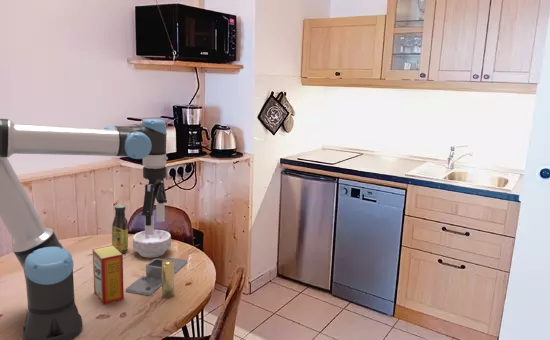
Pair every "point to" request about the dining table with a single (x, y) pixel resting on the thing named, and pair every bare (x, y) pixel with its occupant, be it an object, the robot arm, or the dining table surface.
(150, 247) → the paper bowls
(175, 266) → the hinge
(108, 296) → the baking soda box
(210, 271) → the dining table surface
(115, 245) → the sauce bottle
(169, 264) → the hinge pin
